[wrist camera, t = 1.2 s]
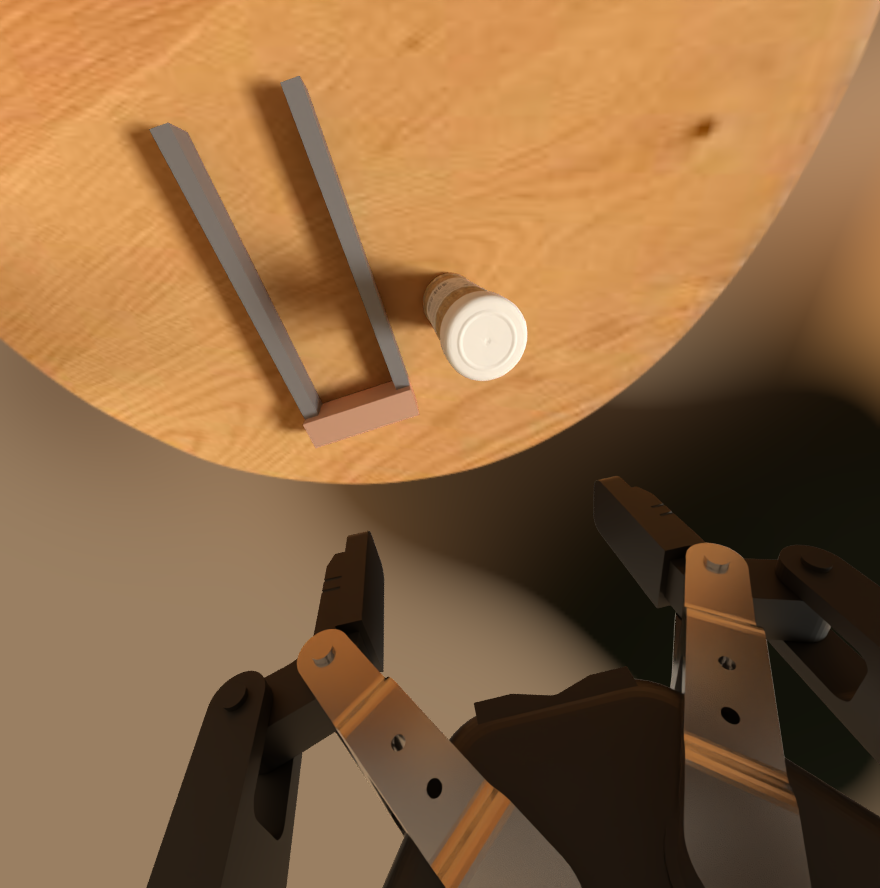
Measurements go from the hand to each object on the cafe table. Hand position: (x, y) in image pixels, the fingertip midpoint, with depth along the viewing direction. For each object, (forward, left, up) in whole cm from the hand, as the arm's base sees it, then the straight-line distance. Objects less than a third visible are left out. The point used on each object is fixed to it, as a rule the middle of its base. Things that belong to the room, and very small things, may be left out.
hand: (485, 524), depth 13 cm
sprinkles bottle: (-3, +3, -23) cm, 24 cm away
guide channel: (-7, -7, -23) cm, 25 cm away
